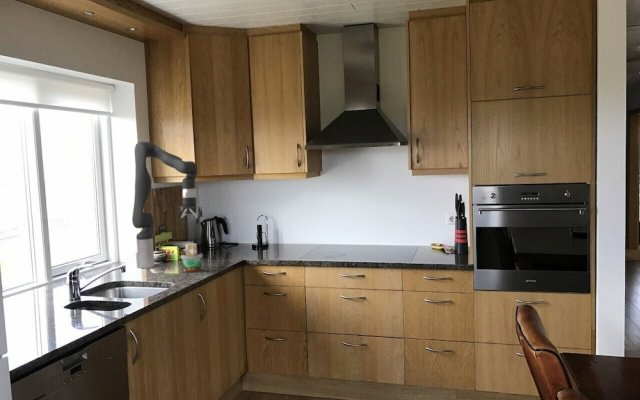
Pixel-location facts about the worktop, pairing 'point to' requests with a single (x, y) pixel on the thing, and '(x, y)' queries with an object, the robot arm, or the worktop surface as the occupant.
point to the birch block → (191, 249)
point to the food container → (192, 263)
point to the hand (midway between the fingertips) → (190, 224)
